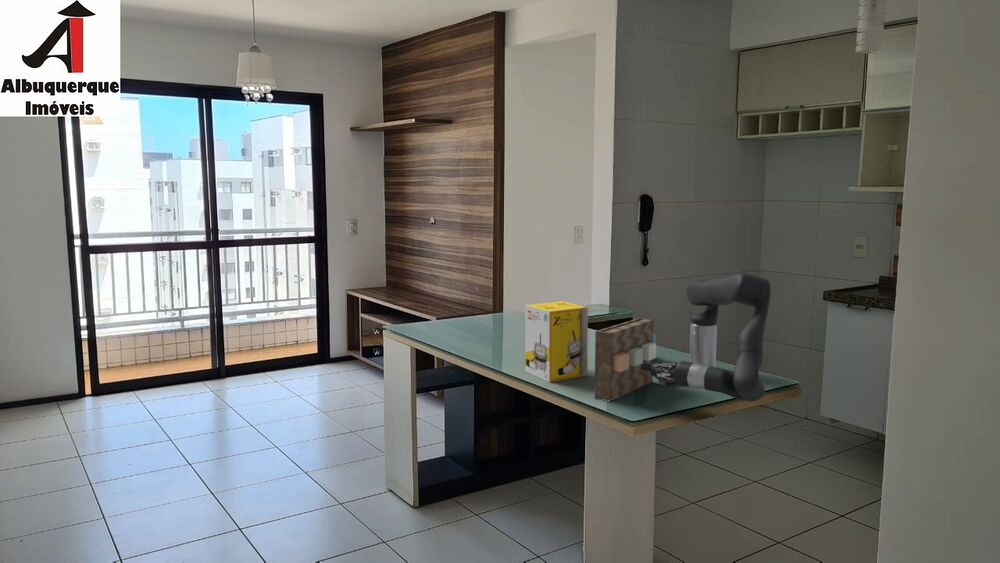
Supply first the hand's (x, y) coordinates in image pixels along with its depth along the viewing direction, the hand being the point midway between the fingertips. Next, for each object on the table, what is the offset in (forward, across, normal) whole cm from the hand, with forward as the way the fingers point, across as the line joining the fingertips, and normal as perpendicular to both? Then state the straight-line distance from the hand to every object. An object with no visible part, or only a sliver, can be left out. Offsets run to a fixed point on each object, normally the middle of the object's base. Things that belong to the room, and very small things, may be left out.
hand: (642, 366), depth 222 cm
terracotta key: (+8, 0, +2) cm, 9 cm away
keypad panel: (+11, -9, +12) cm, 19 cm away
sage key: (+8, -9, +2) cm, 12 cm away
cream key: (+8, -18, +2) cm, 20 cm away
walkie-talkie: (0, -30, +13) cm, 33 cm away
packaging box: (+41, -11, +12) cm, 44 cm away
